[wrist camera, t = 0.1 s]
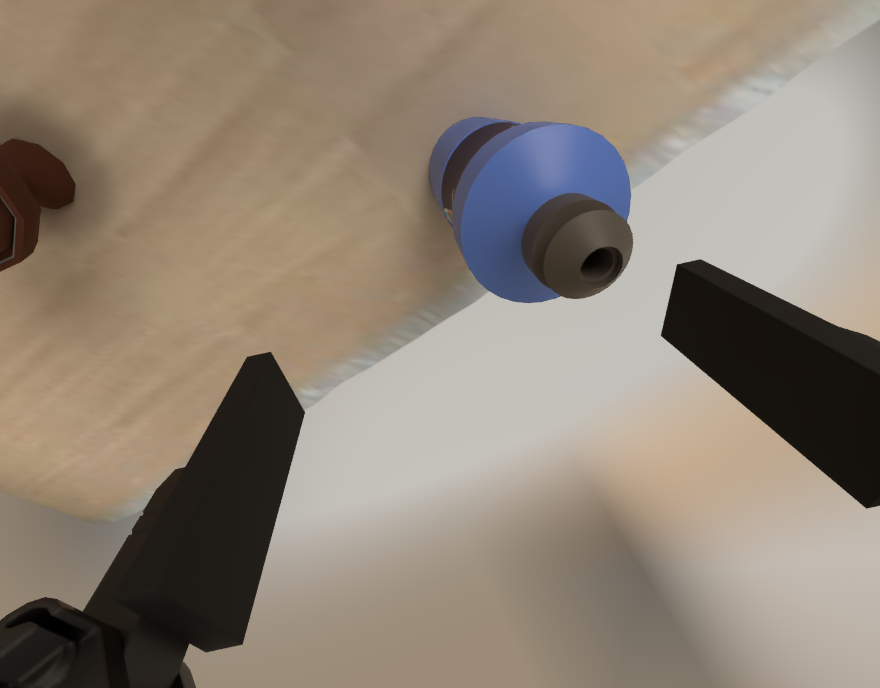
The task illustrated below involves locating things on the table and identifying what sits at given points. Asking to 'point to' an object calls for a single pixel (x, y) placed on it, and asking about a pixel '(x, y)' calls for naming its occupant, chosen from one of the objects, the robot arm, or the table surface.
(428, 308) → the table surface
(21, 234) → the ice cream bowl
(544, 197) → the water bottle
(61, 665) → the robot arm
